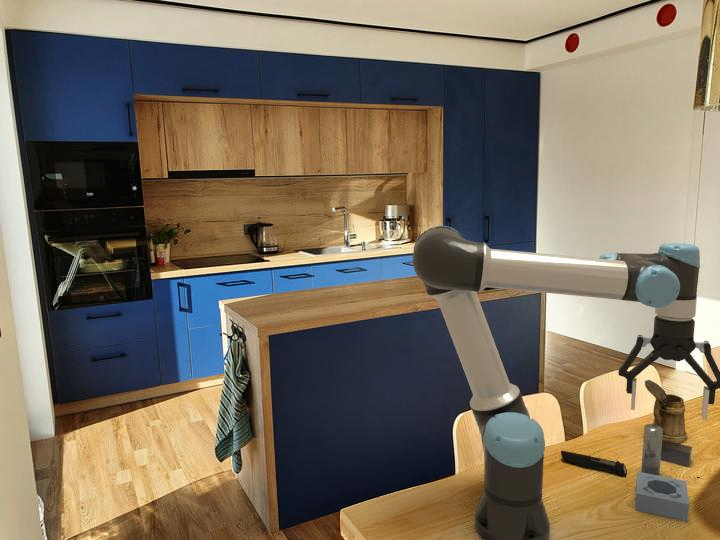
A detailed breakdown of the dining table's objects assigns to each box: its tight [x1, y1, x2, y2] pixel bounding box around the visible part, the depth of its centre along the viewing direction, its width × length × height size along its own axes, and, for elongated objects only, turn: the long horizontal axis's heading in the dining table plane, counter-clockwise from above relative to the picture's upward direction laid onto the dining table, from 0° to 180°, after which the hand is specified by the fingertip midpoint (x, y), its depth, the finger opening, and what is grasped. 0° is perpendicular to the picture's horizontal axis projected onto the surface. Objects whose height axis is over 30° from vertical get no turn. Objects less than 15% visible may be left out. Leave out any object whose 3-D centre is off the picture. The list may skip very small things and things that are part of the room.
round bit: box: [640, 423, 663, 476], centre depth 139 cm, size 4×4×12 cm
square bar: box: [661, 440, 693, 468], centre depth 146 cm, size 10×4×4 cm, turn 54°
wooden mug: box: [644, 379, 688, 444], centre depth 156 cm, size 9×14×18 cm, turn 113°
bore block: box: [634, 471, 690, 522], centre depth 127 cm, size 10×10×4 cm
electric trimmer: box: [560, 450, 628, 478], centre depth 143 cm, size 4×16×3 cm, turn 59°
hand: (667, 412), depth 124 cm, fingers open, 13 cm apart
